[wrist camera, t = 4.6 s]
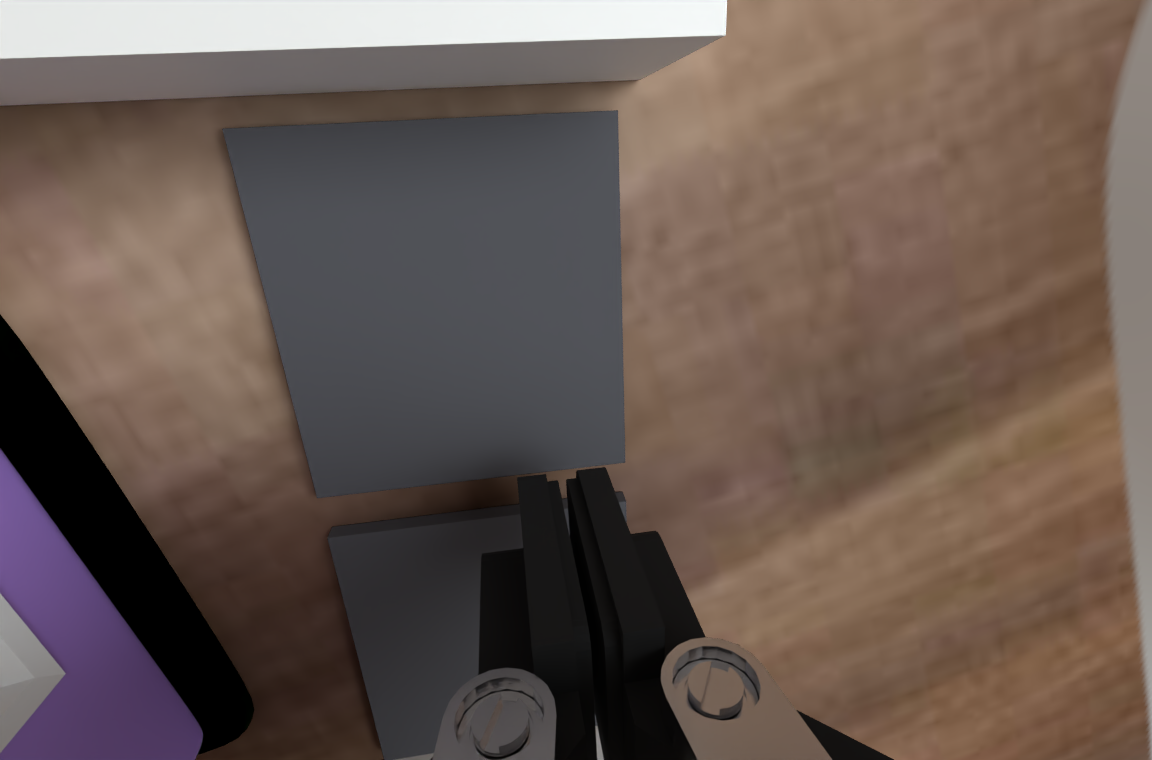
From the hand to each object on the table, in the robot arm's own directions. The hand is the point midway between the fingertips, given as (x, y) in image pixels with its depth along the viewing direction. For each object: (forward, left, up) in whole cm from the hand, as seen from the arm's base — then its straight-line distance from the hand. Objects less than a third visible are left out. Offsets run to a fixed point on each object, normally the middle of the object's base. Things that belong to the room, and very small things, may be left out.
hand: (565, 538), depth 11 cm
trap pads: (+2, 0, -2) cm, 3 cm away
